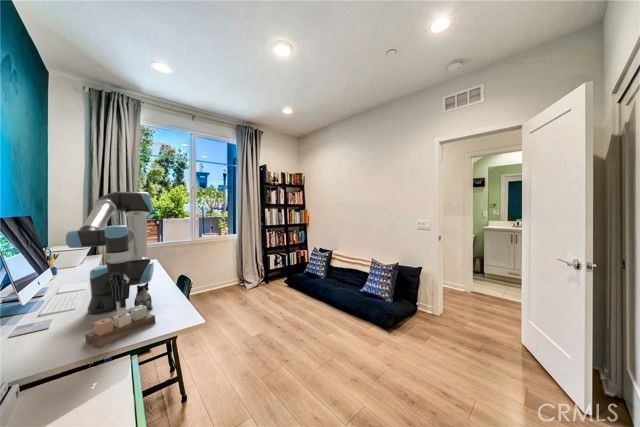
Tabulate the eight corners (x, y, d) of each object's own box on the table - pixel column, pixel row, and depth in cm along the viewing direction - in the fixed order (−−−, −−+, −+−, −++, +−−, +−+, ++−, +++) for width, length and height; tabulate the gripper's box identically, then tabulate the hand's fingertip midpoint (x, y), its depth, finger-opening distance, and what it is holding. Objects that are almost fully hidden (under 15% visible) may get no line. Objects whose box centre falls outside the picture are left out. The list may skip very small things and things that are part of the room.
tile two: (113, 327, 101) (113, 316, 101) (125, 322, 105) (125, 311, 105) (119, 330, 99) (118, 318, 99) (131, 325, 103) (130, 313, 103)
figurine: (131, 318, 114) (129, 288, 114) (127, 311, 121) (125, 283, 120) (154, 310, 122) (153, 282, 121) (149, 305, 128) (147, 278, 127)
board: (85, 342, 95) (85, 334, 95) (142, 318, 114) (142, 311, 114) (98, 348, 91) (97, 340, 90) (155, 322, 110) (154, 315, 110)
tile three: (131, 319, 107) (130, 308, 107) (141, 315, 111) (141, 304, 111) (136, 321, 105) (136, 310, 105) (147, 317, 109) (146, 306, 109)
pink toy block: (94, 334, 95) (93, 322, 95) (107, 329, 99) (107, 317, 99) (100, 337, 93) (99, 324, 93) (113, 331, 97) (112, 319, 97)
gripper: (99, 262, 100) (103, 315, 101) (116, 265, 94) (120, 321, 96) (120, 258, 106) (123, 308, 108) (137, 260, 101) (140, 313, 102)
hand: (121, 314), depth 102 cm, fingers closed
